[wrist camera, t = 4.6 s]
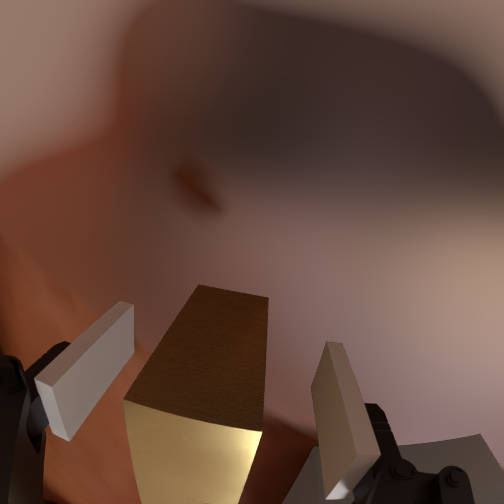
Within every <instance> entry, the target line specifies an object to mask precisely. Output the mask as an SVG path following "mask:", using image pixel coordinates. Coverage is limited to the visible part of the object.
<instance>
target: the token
mask: <svg viewBox="0 0 504 504" xmlns="http://www.w3.org/2000/svg"><path fill="white" fill-rule="evenodd" d="M268 300H269V298H267V297H261V296H257V295H251V294H246V293H240V292H235V291H230V290H224V289H219V288H214V287H209V286H204V285H198V286H197V288H196V289H195V291H194V292H193V294H192V295H191V296H190V298H189V299H188V301H187V302H186V304H185V305H184V307H183V308H182V310H181V311H180V313H179V314H178V316H177V317H176V319H175V320H174V322H173V323H172V325H171V326H170V328H169V329H168V331H167V332H166V334H165V335H164V337H163V338H162V340H161V341H160V343H159V344H158V346H157V347H156V349H155V350H154V352H153V353H152V355H151V356H150V358H149V359H148V361H147V363H146V364H145V366H144V367H143V369H142V370H141V372H140V373H139V375H138V376H137V378H136V379H135V381H134V383H133V384H132V386H131V387H130V389H129V390H128V392H127V393H126V395H125V397H124V398H123V405H124V413H125V421H126V428H127V434H128V440H129V446H130V452H131V458H132V463H133V468H134V473H135V477H136V482H137V486H138V491H139V495H140V499H141V503H142V504H238V502H239V499H240V496H241V493H242V491H243V488H244V485H245V482H246V479H247V476H248V473H249V471H250V468H251V465H252V462H253V459H254V456H255V453H256V450H257V447H258V444H259V440H260V437H261V434H262V426H263V409H264V389H265V370H266V349H267V326H268Z"/></svg>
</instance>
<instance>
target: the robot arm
mask: <svg viewBox="0 0 504 504" xmlns="http://www.w3.org/2000/svg"><path fill="white" fill-rule="evenodd" d="M133 353H134V304H131V303H127V302H124V301H119V302H118V303H116V304H115V305H114V306H113V307H112V308H111V309H109V310H108V311H107V312H106V313H105V314H104V315H103V316H101V317H100V318H99V319H98V320H97V321H96V322H95V323H93V324H92V325H91V326H90V327H89V328H88V329H87V330H86V331H85V332H83V333H82V334H81V335H80V336H79V337H78V338H77V339H76V340H75V341H73V342H72V343H69V342H66V341H64V342H61V343H59V344H56V345H54V346H53V347H52V348H51V349H50V350H48V351H47V353H45V354H44V355H43V356H42V357H41V359H40V358H39V359H38V360H37V361H36V362H35V363H34V364H33V365H31V366H30V367H29V368H28V369H27V370H26V371H25V372H24V369H23V366H22V363H21V361H20V360H19V359H17V358H16V357H13V356H10V355H3V356H0V504H53V503H50V502H47V501H43V470H44V456H45V445H46V432H45V430H44V429H45V428H46V427H47V425H48V424H49V425H50V427H51V430H52V432H53V434H55V435H57V436H59V437H61V438H63V439H65V440H67V441H69V442H70V441H71V439H72V438H73V436H74V435H75V433H76V432H77V431H78V429H79V428H80V426H81V425H82V423H83V422H84V421H85V419H86V418H87V416H88V415H89V414H90V412H91V411H92V409H93V408H94V407H95V405H96V404H97V402H98V401H99V400H100V398H101V397H102V395H103V394H104V393H105V391H106V390H107V389H108V387H109V386H110V384H111V383H112V382H113V380H114V379H115V378H116V376H117V375H118V374H119V372H120V371H121V370H122V368H123V367H124V365H125V364H126V363H127V361H128V360H129V359H130V357H131V356H132V355H133ZM311 392H312V399H313V406H314V413H315V419H316V427H317V435H318V442H319V450H320V458H321V466H322V475H323V483H324V492H325V499H346V498H347V497H348V496H349V495H350V494H351V493H352V491H353V494H354V501H353V502H352V503H351V504H475V501H474V497H473V492H472V488H471V484H470V480H469V477H468V475H467V473H466V472H465V471H464V470H463V469H462V468H460V467H458V466H452V465H451V466H446V467H444V468H443V469H442V470H441V471H440V472H439V473H438V474H432V473H424V472H419V471H417V469H416V467H415V466H414V465H413V464H412V463H411V462H410V461H408V460H405V459H402V457H401V454H400V451H399V449H398V446H397V444H396V441H395V438H394V436H393V433H392V431H391V428H390V426H389V424H388V420H387V418H386V415H385V413H384V411H383V410H382V409H381V408H380V407H379V406H378V405H377V404H370V403H364V402H363V399H362V396H361V393H360V391H359V388H358V385H357V382H356V379H355V377H354V374H353V371H352V368H351V366H350V363H349V360H348V357H347V355H346V352H345V349H344V347H343V344H342V343H334V342H326V345H325V348H324V351H323V354H322V357H321V360H320V363H319V366H318V369H317V372H316V375H315V377H314V380H313V383H312V386H311Z"/></svg>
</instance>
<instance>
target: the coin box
mask: <svg viewBox="0 0 504 504" xmlns="http://www.w3.org/2000/svg"><path fill="white" fill-rule="evenodd" d="M398 449H399V451H400V454H401V457H402V459H405V460H408V461H410V462H411V463H412V464H413V465H414V466H415V467H416V469H417V471H419V472H424V473H432V474H438V473H439V472H440V471H441V470H442V469H443V468H444V467H446V466H451V465H452V466H458V467H460V468H462V469H463V470H464V471H465V472H466V473H467V475H468V477H469V480H470V484H471V488H472V492H473V497H474V501H475V504H504V472H503V470H502V468H501V467H500V465H499V463H498V462H497V460H496V458H495V457H494V455H493V453H492V452H491V450H490V449H489V447H488V445H487V444H486V442H485V441H484V439H483V438H482V436H481V435H480V434H478V435H473V436H468V437H462V438H457V439H451V440H445V441H438V442H430V443H422V444H413V445H401V446H398ZM353 501H354V494H353V491H352V493H351V494H350V495H349V496H348V497H347V498H346V499H325V492H324V483H323V475H322V466H321V458H320V450H319V447H316V446H314V447H313V449H312V451H311V453H310V455H309V456H308V458H307V460H306V462H305V464H304V466H303V468H302V470H301V471H300V473H299V475H298V477H297V479H296V480H295V482H294V484H293V486H292V487H291V489H290V491H289V492H288V494H287V496H286V497H285V499H284V501H283V502H282V504H351V503H352V502H353Z"/></svg>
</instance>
